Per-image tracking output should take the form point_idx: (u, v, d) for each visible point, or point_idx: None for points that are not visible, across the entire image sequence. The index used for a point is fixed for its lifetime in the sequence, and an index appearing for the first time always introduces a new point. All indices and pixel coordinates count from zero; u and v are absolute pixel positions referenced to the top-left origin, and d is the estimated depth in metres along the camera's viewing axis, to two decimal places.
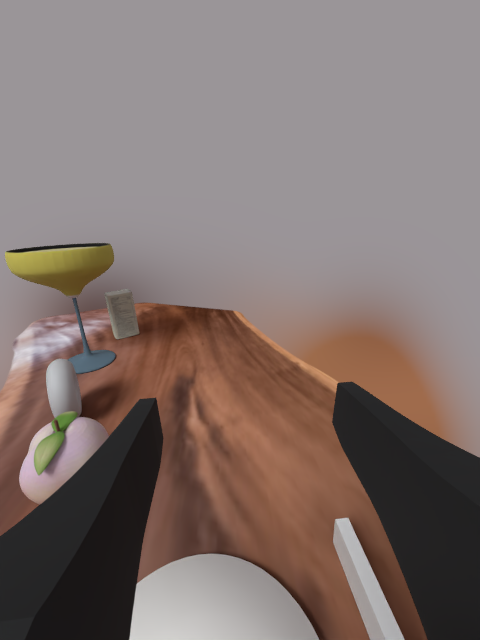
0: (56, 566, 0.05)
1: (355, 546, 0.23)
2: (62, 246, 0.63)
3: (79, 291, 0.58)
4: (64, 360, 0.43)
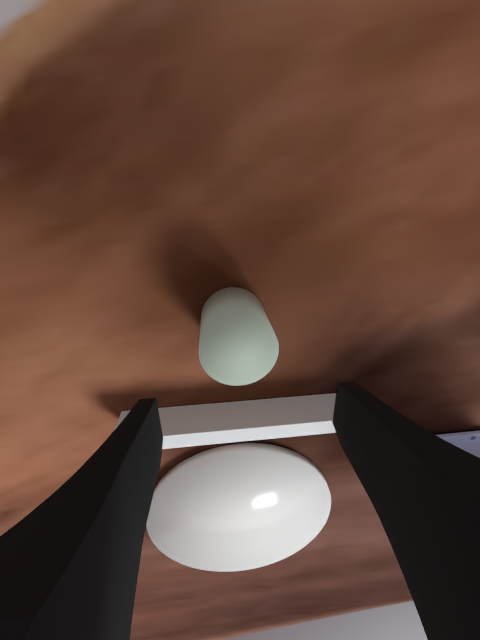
0: (56, 566, 0.05)
1: None
2: None
3: None
4: None
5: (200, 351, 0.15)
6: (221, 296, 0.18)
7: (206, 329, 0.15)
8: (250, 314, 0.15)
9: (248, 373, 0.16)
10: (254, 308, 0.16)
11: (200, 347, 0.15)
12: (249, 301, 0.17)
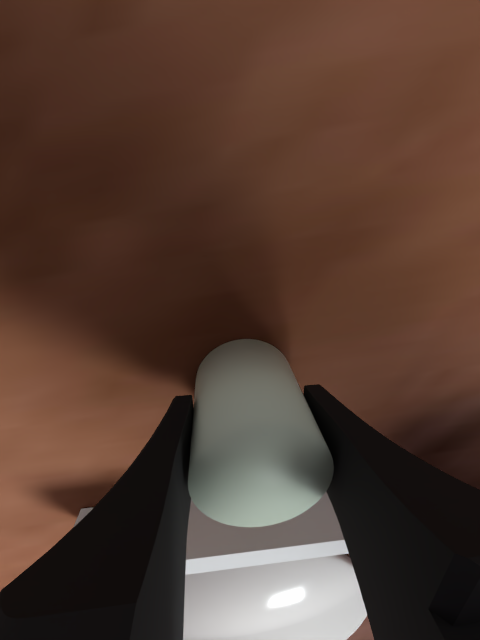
0: (139, 556, 0.05)
1: None
2: None
3: None
4: None
5: (191, 483, 0.08)
6: (228, 360, 0.11)
7: (202, 446, 0.08)
8: (285, 420, 0.08)
9: (277, 509, 0.09)
10: (287, 393, 0.09)
11: (191, 477, 0.08)
12: (275, 374, 0.10)
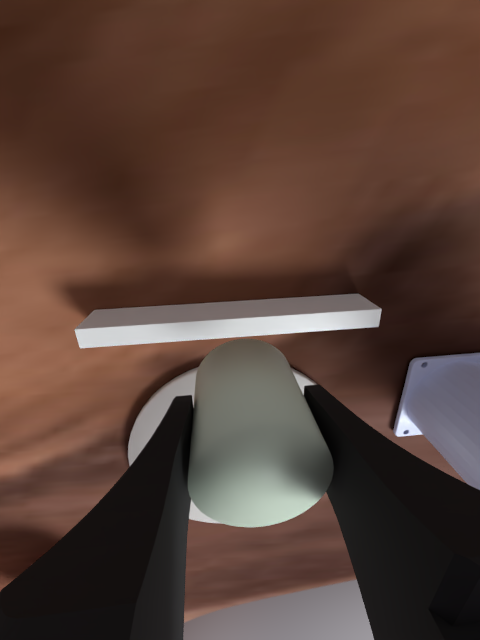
0: (139, 556, 0.05)
1: (119, 334, 0.16)
2: None
3: None
4: None
5: (190, 483, 0.08)
6: (227, 360, 0.11)
7: (202, 445, 0.08)
8: (285, 419, 0.08)
9: (277, 509, 0.09)
10: (287, 393, 0.09)
11: (191, 477, 0.08)
12: (275, 374, 0.10)
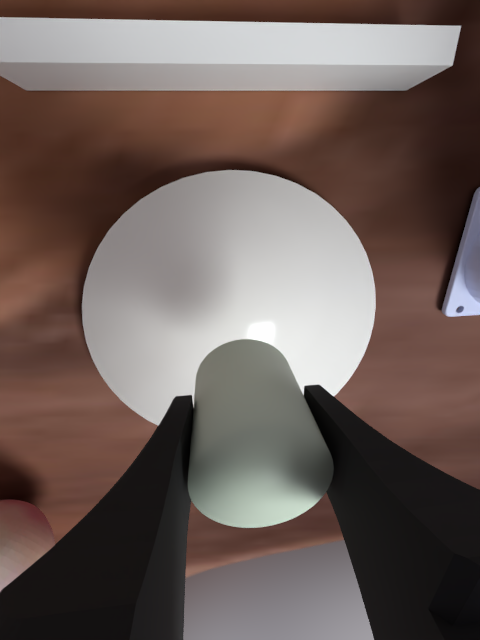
0: (139, 556, 0.05)
1: (39, 36, 0.10)
2: None
3: None
4: None
5: (190, 484, 0.08)
6: (227, 361, 0.11)
7: (202, 446, 0.08)
8: (285, 420, 0.08)
9: (276, 509, 0.09)
10: (287, 393, 0.09)
11: (191, 477, 0.08)
12: (275, 374, 0.10)
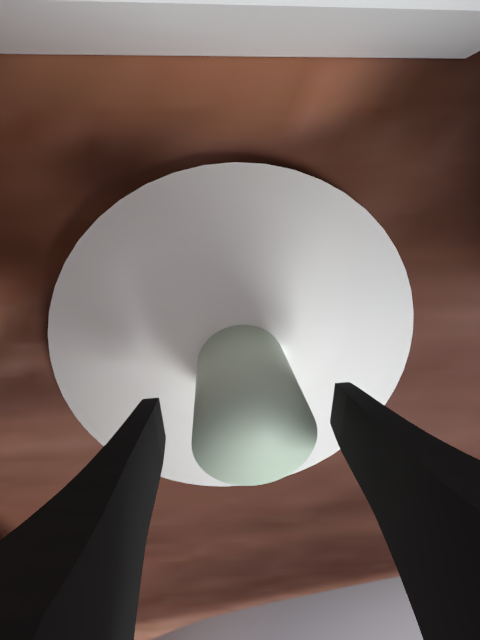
0: (63, 565, 0.05)
1: None
2: None
3: None
4: None
5: (193, 443, 0.10)
6: (226, 342, 0.12)
7: (203, 410, 0.09)
8: (275, 387, 0.09)
9: (268, 469, 0.10)
10: (277, 368, 0.11)
11: (194, 437, 0.10)
12: (268, 353, 0.11)
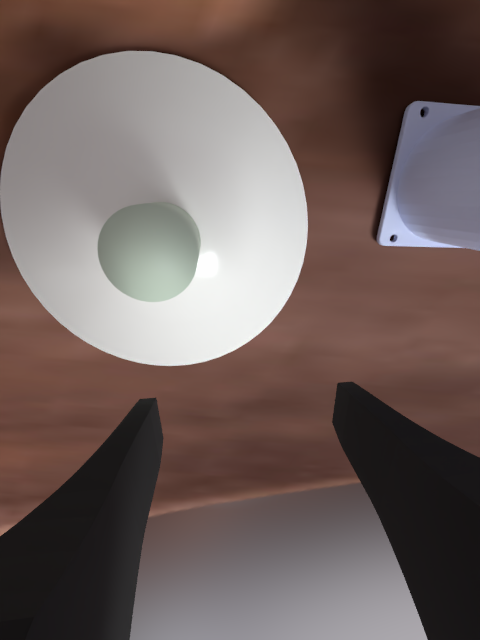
0: (56, 566, 0.05)
1: None
2: None
3: None
4: None
5: (99, 250, 0.13)
6: None
7: None
8: (161, 207, 0.12)
9: (161, 286, 0.14)
10: (174, 210, 0.14)
11: (99, 244, 0.12)
12: (173, 207, 0.15)
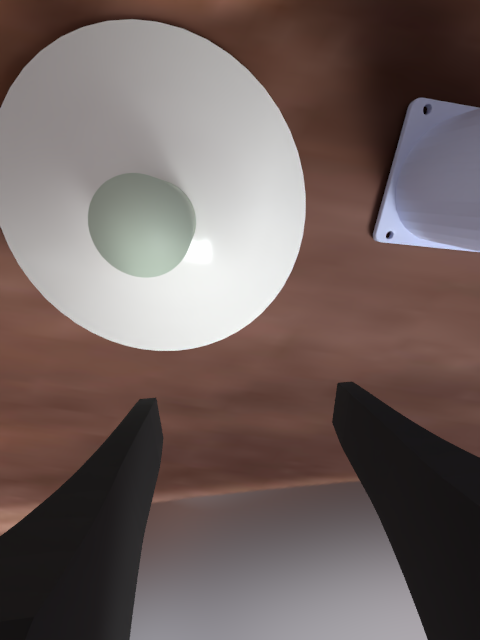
0: (56, 566, 0.05)
1: None
2: None
3: None
4: None
5: (89, 218, 0.12)
6: None
7: None
8: (156, 178, 0.12)
9: (152, 261, 0.13)
10: (170, 185, 0.13)
11: (90, 212, 0.12)
12: (169, 183, 0.14)
